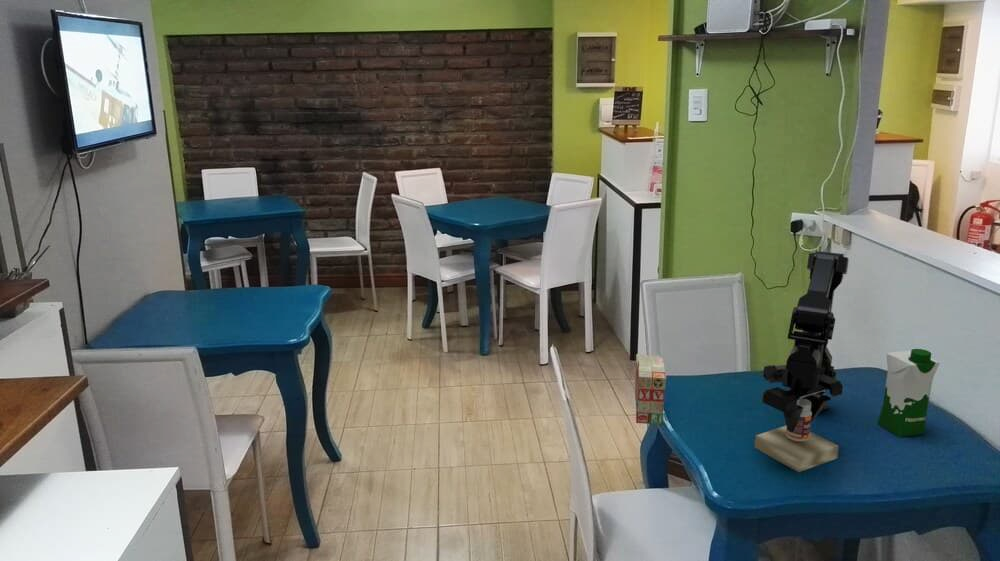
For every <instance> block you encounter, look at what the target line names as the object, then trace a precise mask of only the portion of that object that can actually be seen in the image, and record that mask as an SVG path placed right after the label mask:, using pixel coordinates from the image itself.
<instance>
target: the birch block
mask: <svg viewBox="0 0 1000 561" xmlns="http://www.w3.org/2000/svg"><path fill="white" fill-rule="evenodd" d="M786 427H787V426H786V425H784V426H780V427H777V428H774V429H771V430H769V431H765V432H762V433H759V434H755V440H754V448H755V449H757V450H758V451H760V452H761V453H763V454H765V455H766V456H769V457H771V458H772V459H774V460H776V461H777V462H779V463H781V464H783V465H784V466H787V467H789V468H790V469H792V470H794V471H795V472H797V473H802V472H804V471H806V470H809V469H812V468H814V467H815V468H816V467H818V466H821V465H823V464H826V463H828V462H831V461H834V460H837V459H838V455H839V454H838V453H839V448H840V446H839V445H838V444H836V443H834V442H832V441H830V440H828V439H826V438H823V437H822V436H820V435H818V434H816V433H814V432H812V431H810V433H809V439H808V440H806V441H795V440H792V439H790V438H788V437H787V436H786Z"/></svg>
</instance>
